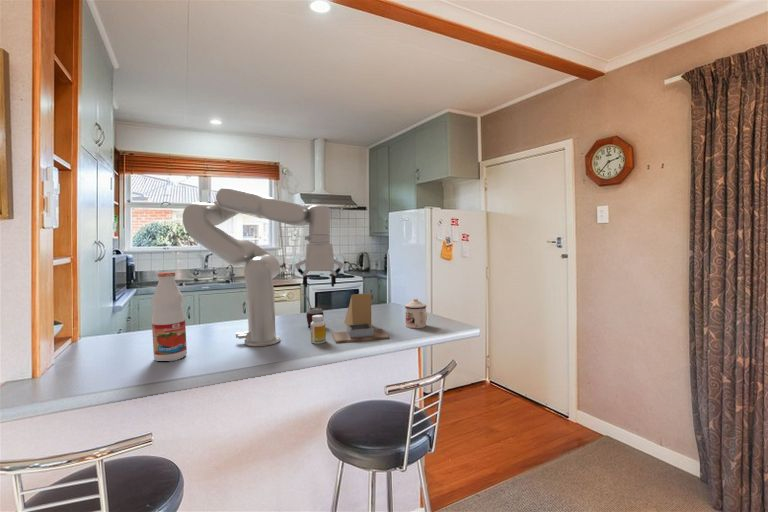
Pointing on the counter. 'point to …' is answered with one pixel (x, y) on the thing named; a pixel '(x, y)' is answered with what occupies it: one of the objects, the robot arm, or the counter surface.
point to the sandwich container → (359, 309)
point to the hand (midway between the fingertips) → (319, 286)
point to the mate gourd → (312, 312)
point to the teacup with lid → (415, 314)
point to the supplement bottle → (318, 330)
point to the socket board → (359, 333)
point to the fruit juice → (168, 320)
